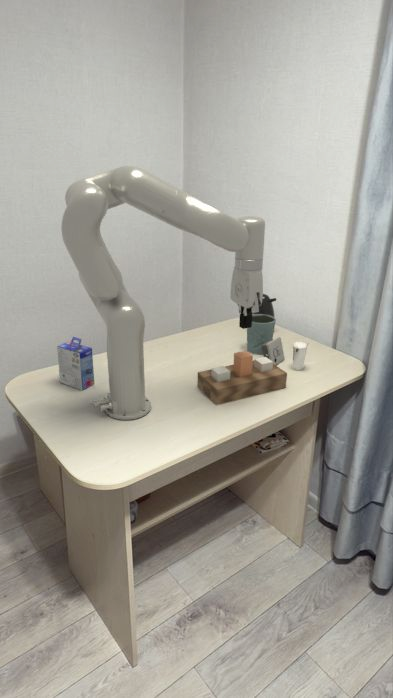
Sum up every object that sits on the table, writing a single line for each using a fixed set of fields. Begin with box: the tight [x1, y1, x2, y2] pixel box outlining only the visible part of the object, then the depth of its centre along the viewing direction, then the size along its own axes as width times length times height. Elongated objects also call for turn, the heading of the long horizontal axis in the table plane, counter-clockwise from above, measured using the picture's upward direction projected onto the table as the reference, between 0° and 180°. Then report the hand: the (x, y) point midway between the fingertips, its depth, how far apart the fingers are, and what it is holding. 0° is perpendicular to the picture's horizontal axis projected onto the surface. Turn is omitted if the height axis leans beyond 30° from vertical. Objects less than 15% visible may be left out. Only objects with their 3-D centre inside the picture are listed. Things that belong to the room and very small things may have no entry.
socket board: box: [197, 359, 288, 406], centre depth 141 cm, size 24×12×5 cm, turn 117°
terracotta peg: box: [233, 350, 254, 377], centre depth 139 cm, size 4×4×6 cm
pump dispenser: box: [254, 293, 277, 319], centre depth 183 cm, size 10×10×15 cm
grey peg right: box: [254, 357, 273, 372], centre depth 144 cm, size 4×4×6 cm
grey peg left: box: [211, 365, 230, 382], centre depth 138 cm, size 4×4×6 cm
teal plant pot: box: [246, 314, 277, 356], centre depth 167 cm, size 10×10×12 cm
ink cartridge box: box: [56, 336, 95, 391], centre depth 141 cm, size 10×6×14 cm, turn 58°
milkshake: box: [292, 341, 309, 371], centre depth 153 cm, size 4×5×10 cm
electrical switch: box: [262, 336, 285, 366], centre depth 158 cm, size 8×5×8 cm, turn 141°
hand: (245, 327), depth 135 cm, fingers closed
